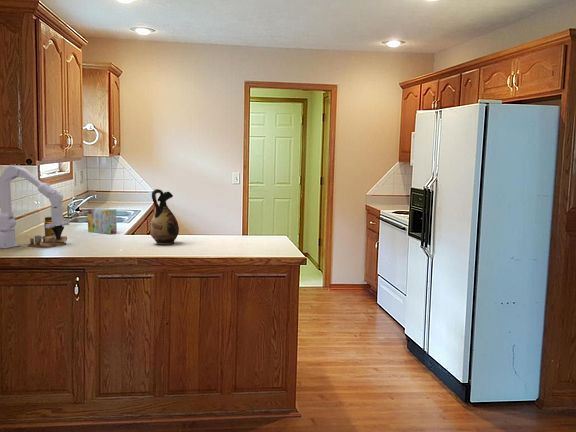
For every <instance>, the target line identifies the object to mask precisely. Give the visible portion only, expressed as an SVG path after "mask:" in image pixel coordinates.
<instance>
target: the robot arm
mask: <svg viewBox="0 0 576 432" xmlns="http://www.w3.org/2000/svg"><path fill="white" fill-rule="evenodd" d="M16 178H20V179H21V178H22V179H25V180H26V181H28V182H29V183H31V184H32V185H34V186H36V188H37V191H38V192H39V193H40V194H42V196H44V197H45V198H47V199H48V200H49V202H50V213H51V216H50V217H52V223H50V224H45V226H44V229H45V228H51V227H52V230H53V231H54V233H55V236H56V240H60V239H61V236H62V234H63V231H64V229H65V226H70V221H64V213H63V210H64V209H63V199H64V195H63V194H62V193H61V192H60V191H58V190H57V189H54V188H53V187H52V186H50V185H51V184H50V183H48V182H42V181H40V180H39V178H37V177H36V176H35V175H33V173H31V172H30V171H29V170H28V169H26V168H25V167H23V166H22V165H21V166H9V165H7V166H5V168H3V171H2V173H1V175H0V249H7V248H13V247H20V244H17V242H16V229H15V226H16V224H17V220H16V219H15V217H14V213H13V209H12V207H13V206H12V205H13V204H12V191H11V190H12V189H11V183H12V181H14V180H15V179H16Z"/></svg>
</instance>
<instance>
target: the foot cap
mask: <svg viewBox="0 0 576 432" xmlns="http://www.w3.org/2000/svg"><path fill="white" fill-rule="evenodd" d="M41 237H42V235H34V243H36V239H40V242H43V239H42V238H41Z"/></svg>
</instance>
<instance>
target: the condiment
mask: <svg viewBox="0 0 576 432" xmlns="http://www.w3.org/2000/svg"><path fill="white" fill-rule="evenodd" d="M50 223H52V216H45V217H44V223H43V224H44V236H45V237H47V236H50V235H55V233H54V231H53V230H52V227H51V228H45V224H50ZM41 240H43V236H41Z"/></svg>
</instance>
